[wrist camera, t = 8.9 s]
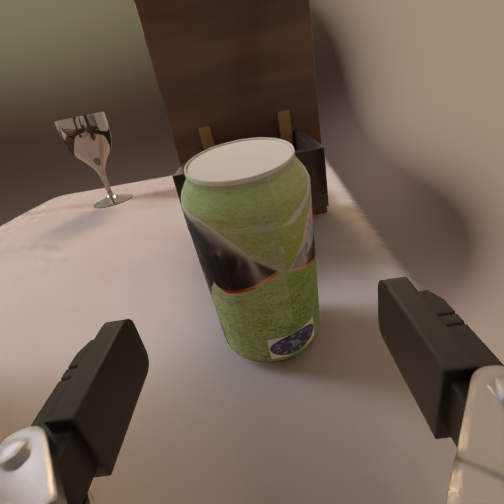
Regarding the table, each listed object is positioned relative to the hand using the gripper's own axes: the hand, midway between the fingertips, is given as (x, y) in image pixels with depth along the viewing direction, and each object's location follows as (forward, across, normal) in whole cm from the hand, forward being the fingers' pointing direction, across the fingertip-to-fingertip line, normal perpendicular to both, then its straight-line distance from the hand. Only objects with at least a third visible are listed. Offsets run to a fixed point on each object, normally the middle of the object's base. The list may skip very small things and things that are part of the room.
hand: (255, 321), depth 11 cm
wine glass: (+51, +28, +8) cm, 59 cm away
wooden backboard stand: (+25, 0, +7) cm, 26 cm away
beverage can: (+7, 0, +8) cm, 10 cm away
